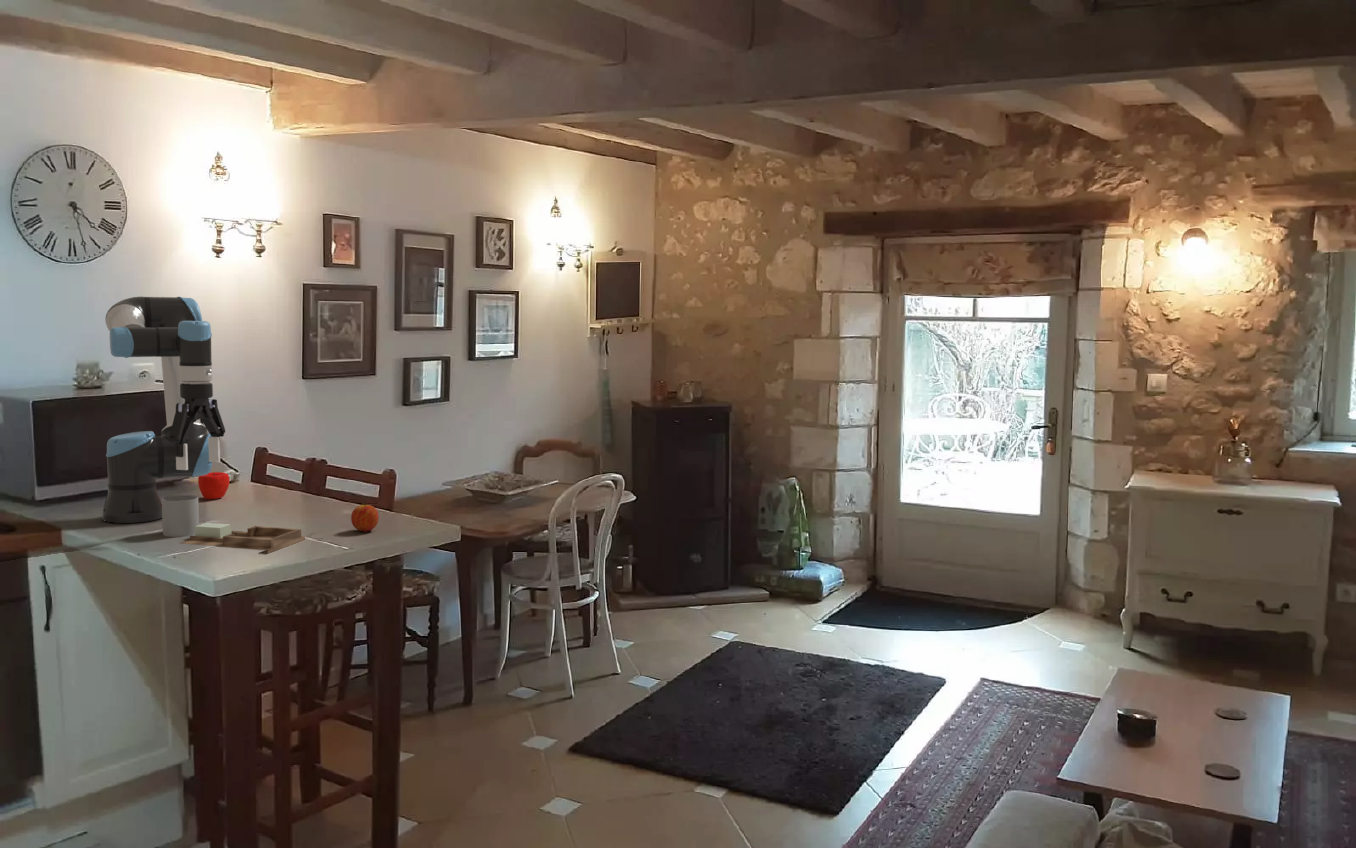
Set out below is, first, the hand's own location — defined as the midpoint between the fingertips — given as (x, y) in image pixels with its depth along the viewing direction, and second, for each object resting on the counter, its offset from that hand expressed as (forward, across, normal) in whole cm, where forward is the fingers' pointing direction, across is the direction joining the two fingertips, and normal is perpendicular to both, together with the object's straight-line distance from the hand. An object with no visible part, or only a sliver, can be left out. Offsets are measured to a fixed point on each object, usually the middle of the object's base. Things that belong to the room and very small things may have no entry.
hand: (198, 465), depth 276 cm
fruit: (+18, +14, -38) cm, 44 cm away
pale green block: (+17, -6, -8) cm, 19 cm away
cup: (+18, -4, +3) cm, 19 cm away
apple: (+18, +45, +26) cm, 55 cm away
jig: (+18, -7, -16) cm, 25 cm away
